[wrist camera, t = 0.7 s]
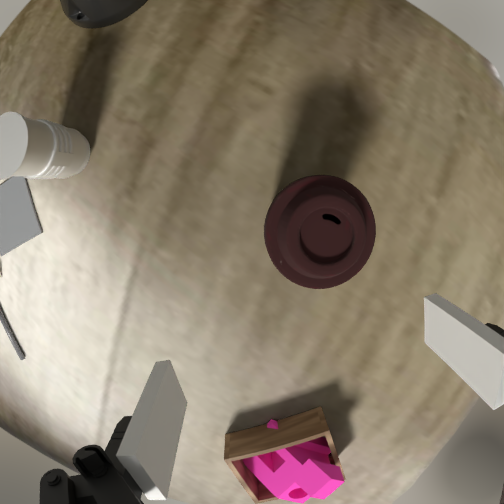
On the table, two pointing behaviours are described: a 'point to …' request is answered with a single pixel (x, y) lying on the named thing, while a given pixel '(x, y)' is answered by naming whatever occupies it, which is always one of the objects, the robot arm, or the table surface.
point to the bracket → (297, 470)
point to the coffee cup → (319, 231)
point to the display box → (273, 446)
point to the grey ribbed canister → (40, 148)
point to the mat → (16, 214)
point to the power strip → (11, 334)
